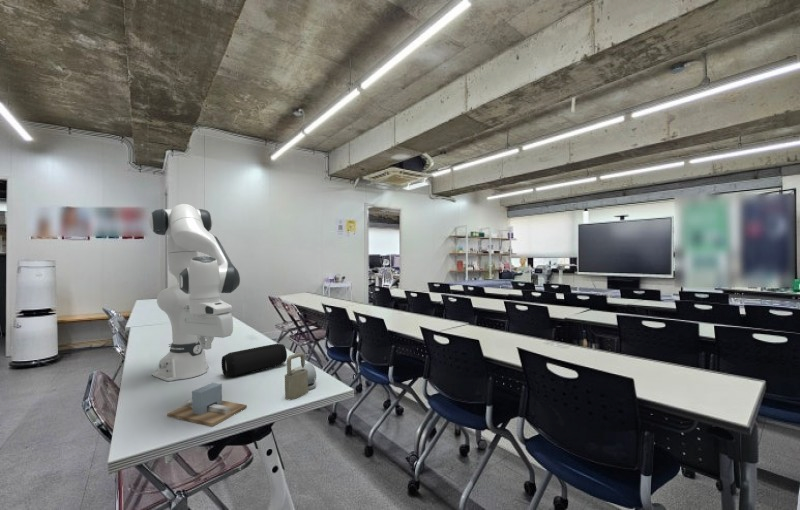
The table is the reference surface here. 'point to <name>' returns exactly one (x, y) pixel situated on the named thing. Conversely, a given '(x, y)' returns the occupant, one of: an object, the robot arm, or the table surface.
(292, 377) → the padlock
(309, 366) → the ceramic mug
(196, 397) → the block
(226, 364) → the portable speaker
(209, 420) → the striped wooden board
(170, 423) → the table surface
